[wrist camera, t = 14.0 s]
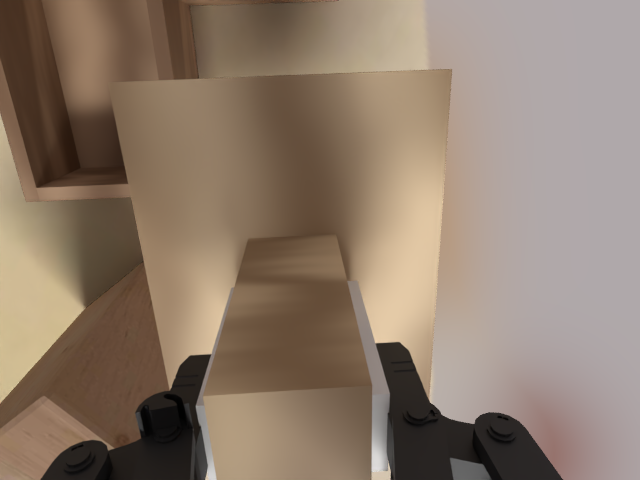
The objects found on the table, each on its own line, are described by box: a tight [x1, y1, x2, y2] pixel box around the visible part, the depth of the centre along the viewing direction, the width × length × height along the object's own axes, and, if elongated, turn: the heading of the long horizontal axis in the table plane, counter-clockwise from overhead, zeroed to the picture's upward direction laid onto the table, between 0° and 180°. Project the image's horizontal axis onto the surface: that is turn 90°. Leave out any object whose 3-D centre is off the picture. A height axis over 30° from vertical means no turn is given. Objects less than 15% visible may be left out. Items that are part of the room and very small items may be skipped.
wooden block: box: [0, 261, 170, 480], centre depth 36 cm, size 10×10×20 cm
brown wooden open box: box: [0, 0, 339, 202], centre depth 31 cm, size 24×20×12 cm
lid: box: [108, 69, 452, 480], centre depth 15 cm, size 12×18×10 cm, turn 2°
